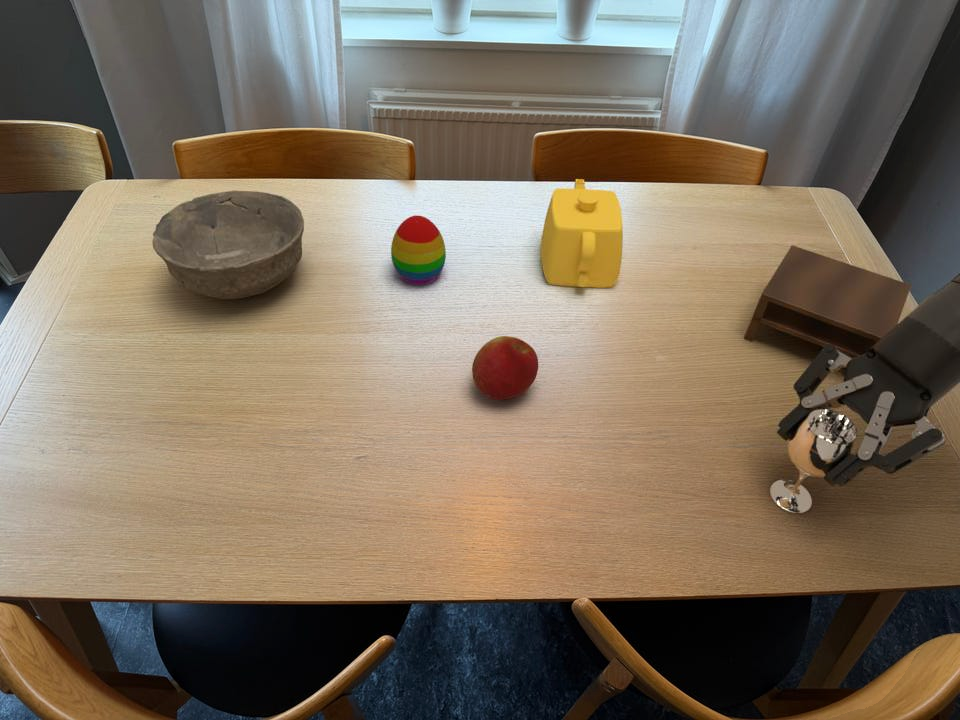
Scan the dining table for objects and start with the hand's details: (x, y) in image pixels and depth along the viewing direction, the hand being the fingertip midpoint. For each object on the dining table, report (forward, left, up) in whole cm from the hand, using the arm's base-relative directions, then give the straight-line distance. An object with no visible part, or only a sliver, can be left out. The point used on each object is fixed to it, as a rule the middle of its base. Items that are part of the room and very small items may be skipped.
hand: (804, 458), depth 67 cm
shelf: (+4, -32, -8) cm, 33 cm away
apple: (+34, +3, -8) cm, 35 cm away
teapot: (+40, -28, -8) cm, 49 cm away
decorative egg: (+58, -10, -8) cm, 59 cm away
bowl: (+78, +7, -8) cm, 79 cm away
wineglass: (-1, -2, -8) cm, 8 cm away
